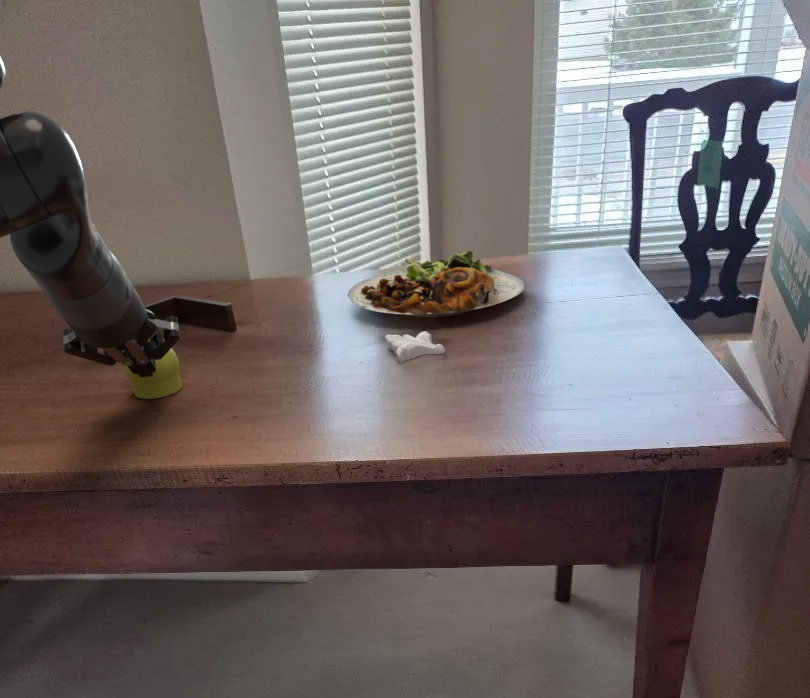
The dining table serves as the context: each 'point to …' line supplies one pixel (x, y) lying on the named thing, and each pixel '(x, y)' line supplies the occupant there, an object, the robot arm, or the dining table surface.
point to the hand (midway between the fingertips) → (146, 369)
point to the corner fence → (195, 312)
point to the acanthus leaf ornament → (413, 346)
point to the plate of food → (436, 288)
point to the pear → (157, 378)
